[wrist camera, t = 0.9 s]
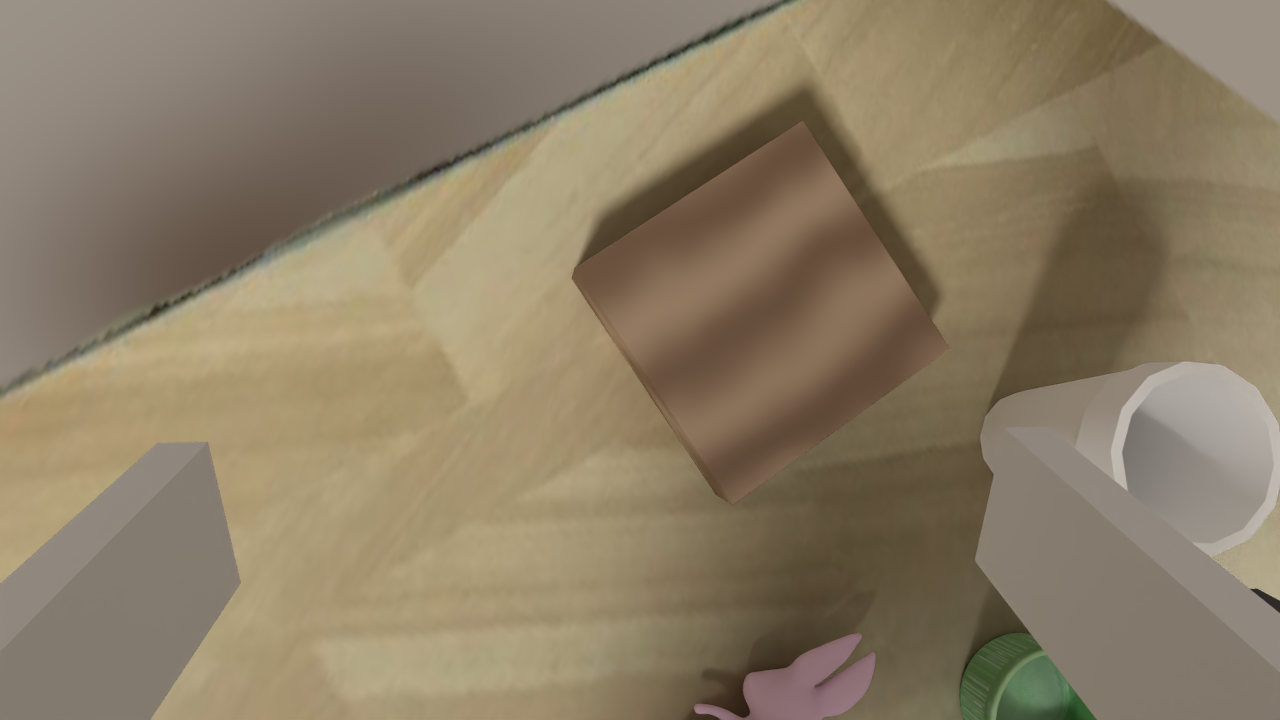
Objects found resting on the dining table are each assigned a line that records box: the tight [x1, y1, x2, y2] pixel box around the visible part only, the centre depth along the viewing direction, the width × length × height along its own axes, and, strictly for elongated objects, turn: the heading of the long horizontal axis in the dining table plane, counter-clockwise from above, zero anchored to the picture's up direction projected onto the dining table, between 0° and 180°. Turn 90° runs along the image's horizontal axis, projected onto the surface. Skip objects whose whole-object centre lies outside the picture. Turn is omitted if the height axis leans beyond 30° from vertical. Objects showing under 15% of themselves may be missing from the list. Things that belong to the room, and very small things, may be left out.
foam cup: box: [980, 361, 1280, 556], centre depth 42 cm, size 10×9×13 cm
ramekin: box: [960, 633, 1097, 720], centre depth 46 cm, size 9×9×4 cm
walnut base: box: [572, 121, 949, 505], centre depth 44 cm, size 16×16×4 cm
